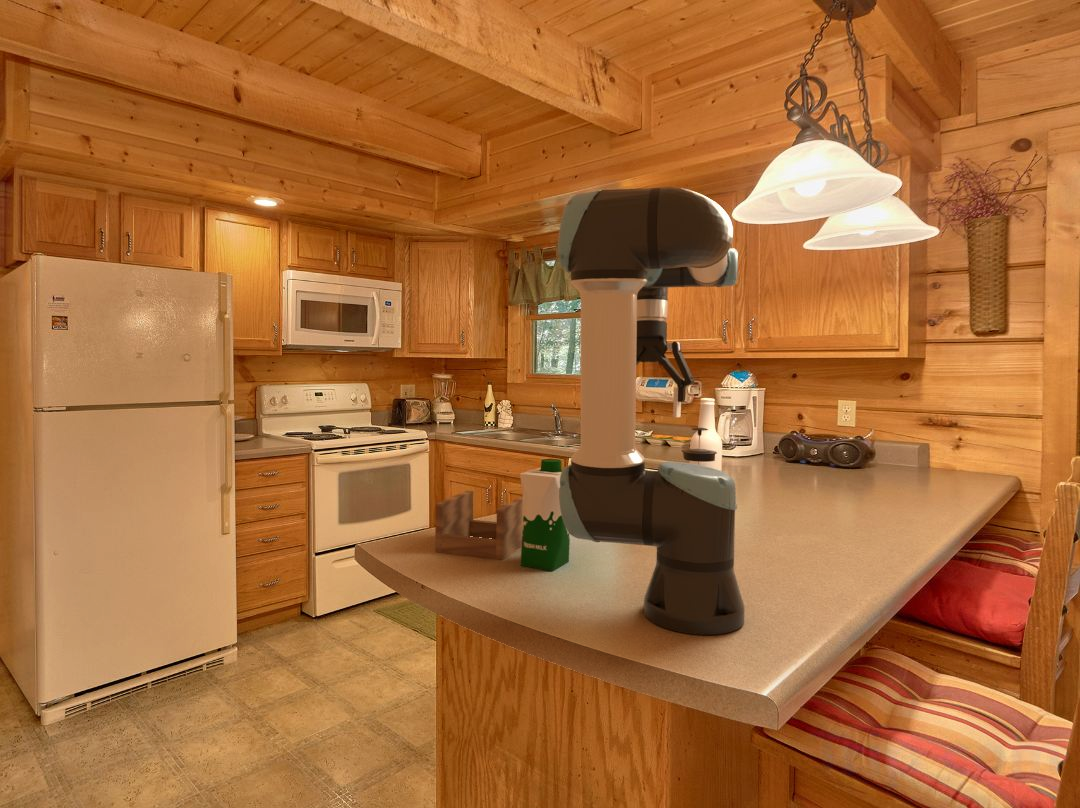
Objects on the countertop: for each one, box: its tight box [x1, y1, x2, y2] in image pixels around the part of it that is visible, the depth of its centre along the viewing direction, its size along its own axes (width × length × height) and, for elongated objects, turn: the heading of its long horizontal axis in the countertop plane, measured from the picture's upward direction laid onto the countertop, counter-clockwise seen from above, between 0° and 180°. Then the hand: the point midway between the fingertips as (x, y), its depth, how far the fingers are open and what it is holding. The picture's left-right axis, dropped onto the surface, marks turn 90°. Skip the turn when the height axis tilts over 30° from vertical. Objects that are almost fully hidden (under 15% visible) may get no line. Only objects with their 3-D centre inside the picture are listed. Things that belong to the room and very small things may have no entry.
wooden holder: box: [434, 490, 523, 561], centre depth 139 cm, size 15×15×10 cm
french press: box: [681, 427, 717, 465], centre depth 171 cm, size 12×9×23 cm
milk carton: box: [519, 458, 571, 572], centre depth 127 cm, size 9×9×20 cm
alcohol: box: [689, 397, 723, 472], centre depth 185 cm, size 9×9×30 cm
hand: (647, 415), depth 148 cm, fingers open, 13 cm apart
